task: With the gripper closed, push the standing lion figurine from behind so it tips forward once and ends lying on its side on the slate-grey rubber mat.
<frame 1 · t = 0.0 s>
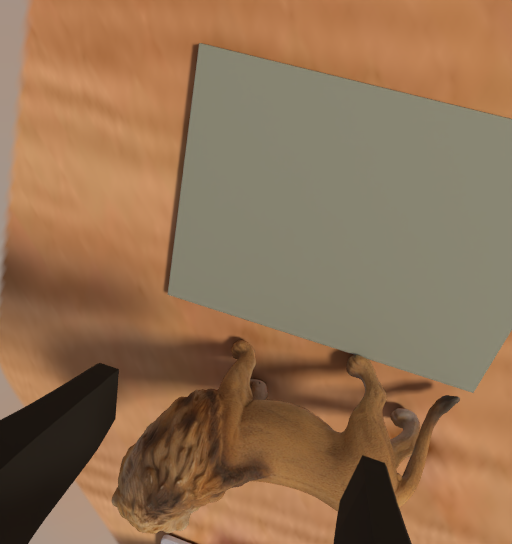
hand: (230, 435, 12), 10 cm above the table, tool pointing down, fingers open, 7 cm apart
lion figurine: (300, 380, 24), on the table, touching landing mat
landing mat: (350, 233, 19), on the table
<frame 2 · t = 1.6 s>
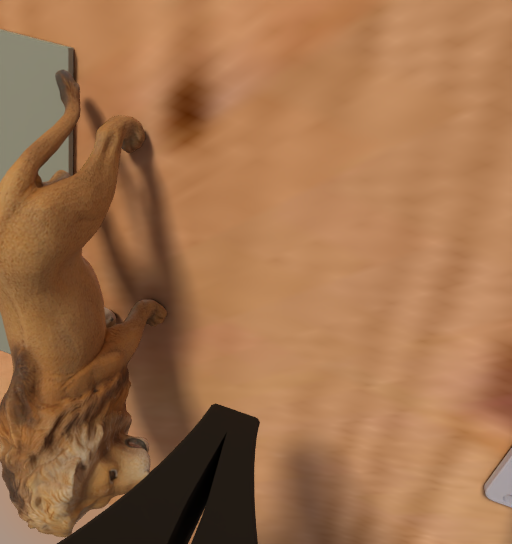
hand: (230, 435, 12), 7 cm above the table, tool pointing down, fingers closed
lion figurine: (133, 259, 20), on the table, touching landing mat
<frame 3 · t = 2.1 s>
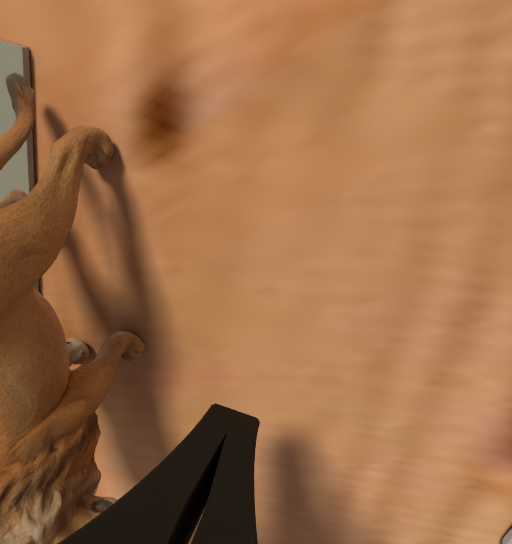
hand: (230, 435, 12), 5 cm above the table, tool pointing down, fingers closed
lion figurine: (105, 286, 17), on the table, touching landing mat
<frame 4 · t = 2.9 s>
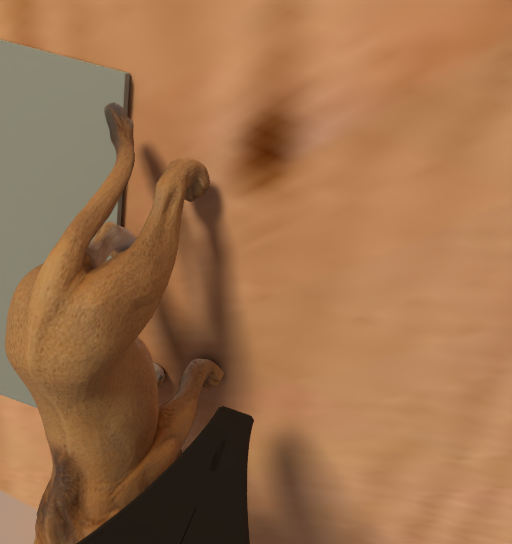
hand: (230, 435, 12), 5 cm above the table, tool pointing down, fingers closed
lion figurine: (187, 313, 17), on the table, touching gripper, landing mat
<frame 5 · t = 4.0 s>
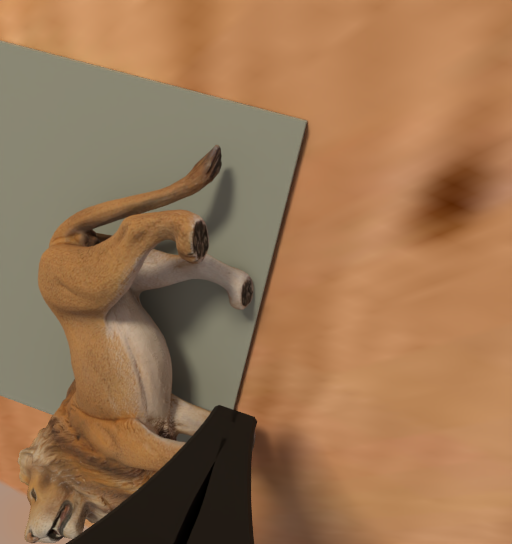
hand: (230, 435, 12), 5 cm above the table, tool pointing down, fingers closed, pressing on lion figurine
lion figurine: (233, 403, 14), point 3 cm above the table, touching gripper, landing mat
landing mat: (108, 289, 17), on the table
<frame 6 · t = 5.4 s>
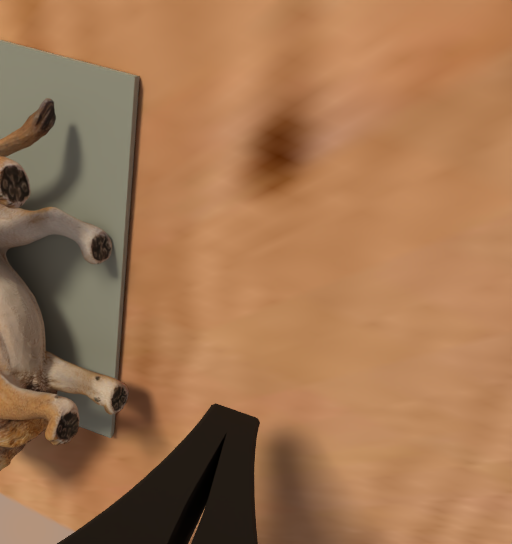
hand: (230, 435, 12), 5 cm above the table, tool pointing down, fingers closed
lion figurine: (79, 351, 14), point 3 cm above the table, touching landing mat
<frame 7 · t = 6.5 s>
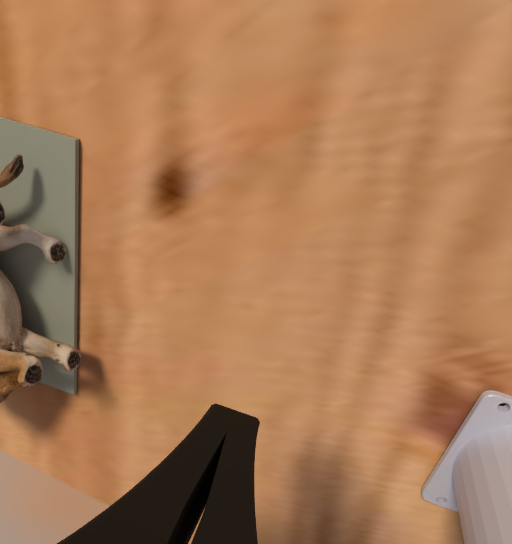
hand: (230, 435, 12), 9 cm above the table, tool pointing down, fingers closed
lion figurine: (41, 323, 21), point 3 cm above the table, touching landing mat
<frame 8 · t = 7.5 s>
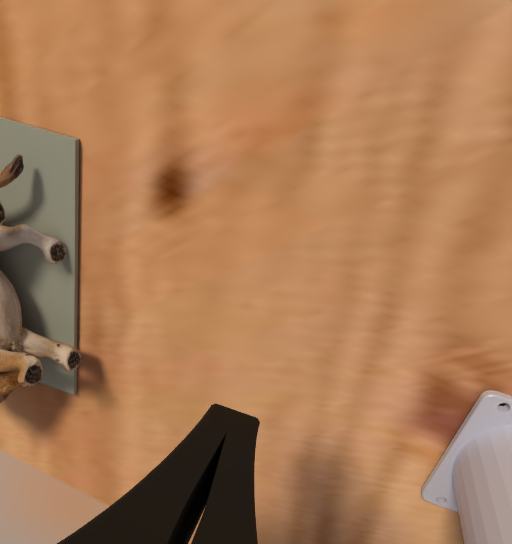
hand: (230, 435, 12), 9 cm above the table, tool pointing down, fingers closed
lion figurine: (41, 323, 21), point 3 cm above the table, touching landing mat
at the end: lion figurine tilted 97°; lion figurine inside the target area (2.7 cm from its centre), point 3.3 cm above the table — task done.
